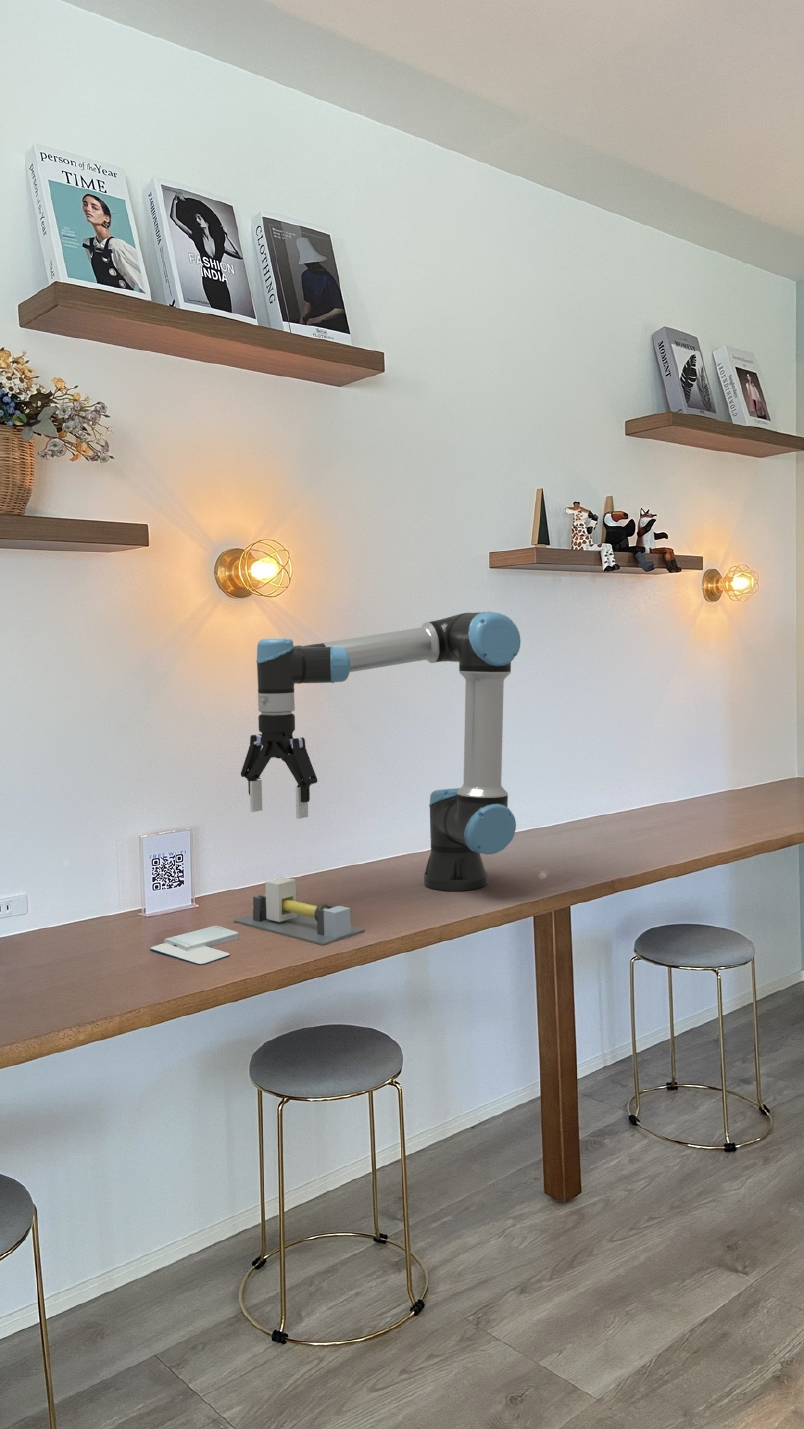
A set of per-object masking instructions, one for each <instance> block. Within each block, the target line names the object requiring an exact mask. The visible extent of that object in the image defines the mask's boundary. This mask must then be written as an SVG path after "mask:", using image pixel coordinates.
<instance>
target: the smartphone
mask: <svg viewBox="0 0 804 1429" xmlns="http://www.w3.org/2000/svg"><path fill="white" fill-rule="evenodd" d="M149 952H153V953H157V954H159V955H161V956H166V957H169V958H173V959H177V960H179V961H182V962H186V963H190V964H192V965H195V966H196V965H197V966H204V965H208V964H212V963H214V962H216V961H220V960H223V959H225V958H230V957H231V953H230V952H228V951H225V950H220V949H217V948H213V947H212V946H210V947H208V946H203V947H200V948H196V949H192V950H189V951H185V950H183V949H180V948H177V947H175V946H172V945H170V944H167V943H164V942H163V943H159V944H155V945H153V946H150V948H149Z"/></svg>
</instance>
